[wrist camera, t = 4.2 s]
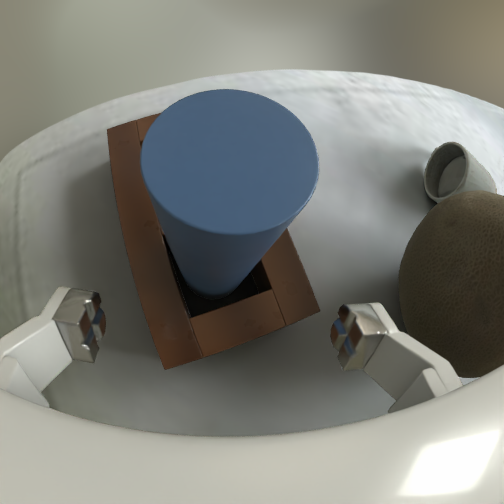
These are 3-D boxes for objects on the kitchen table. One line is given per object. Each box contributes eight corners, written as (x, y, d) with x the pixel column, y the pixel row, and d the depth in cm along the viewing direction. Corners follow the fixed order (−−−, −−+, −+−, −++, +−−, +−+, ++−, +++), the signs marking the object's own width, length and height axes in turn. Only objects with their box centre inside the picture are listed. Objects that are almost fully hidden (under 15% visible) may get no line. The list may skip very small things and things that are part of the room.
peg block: (172, 361, 18) (164, 370, 14) (117, 156, 22) (106, 129, 18) (300, 314, 21) (320, 311, 17) (223, 127, 24) (227, 98, 20)
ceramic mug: (465, 232, 27) (508, 211, 20) (425, 211, 26) (471, 181, 19) (455, 168, 30) (488, 143, 23) (416, 144, 29) (450, 111, 22)
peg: (194, 307, 20) (163, 263, 5) (175, 251, 20) (129, 108, 6) (250, 287, 21) (349, 205, 6) (230, 234, 21) (277, 81, 7)
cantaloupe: (450, 242, 26) (547, 194, 12) (452, 363, 22) (564, 359, 8) (356, 220, 24) (475, 127, 10) (352, 378, 20) (507, 409, 6)
